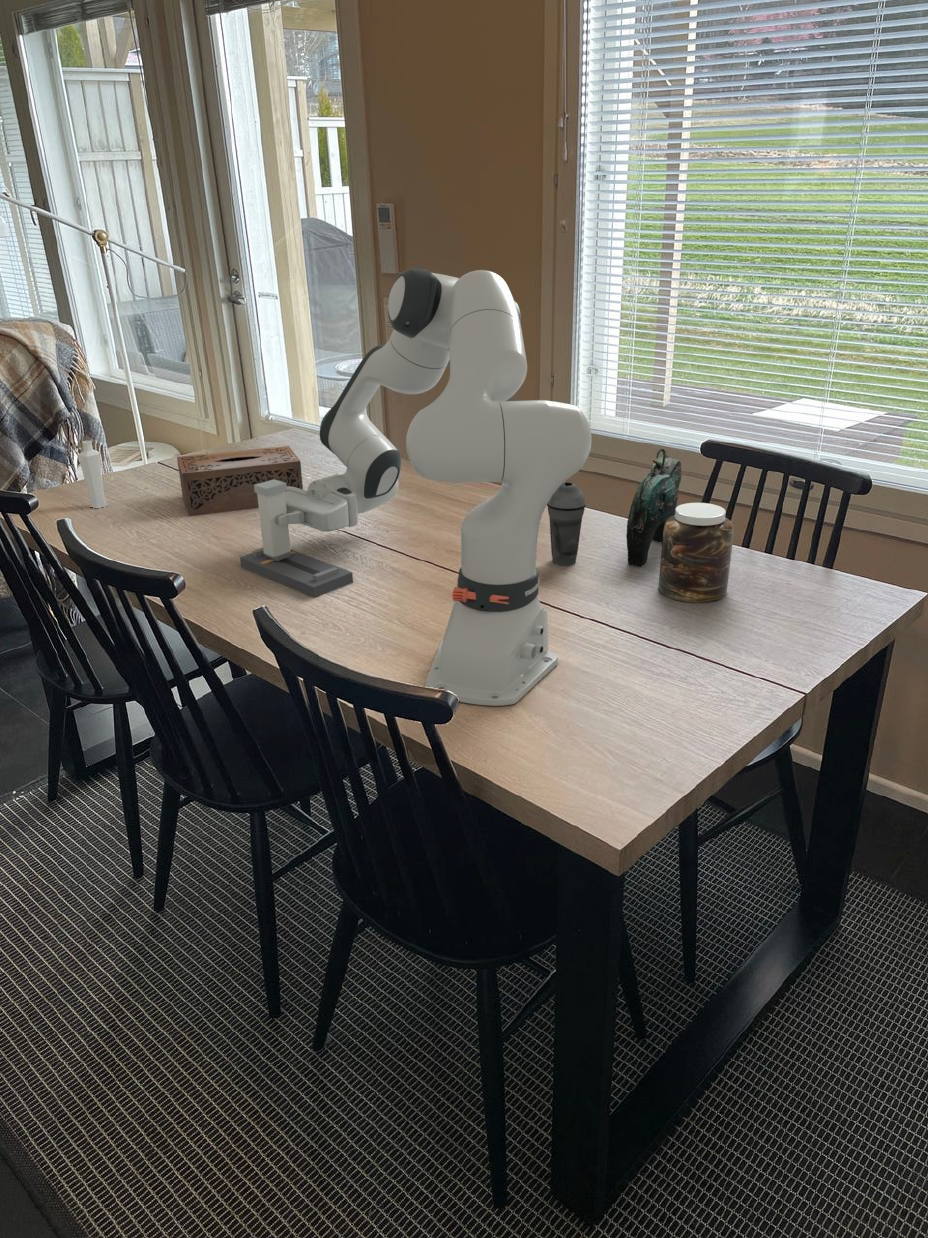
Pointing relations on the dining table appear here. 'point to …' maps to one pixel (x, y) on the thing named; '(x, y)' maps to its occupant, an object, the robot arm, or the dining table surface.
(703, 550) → the jar
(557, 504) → the beverage cup
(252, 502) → the tissue box cover
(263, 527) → the fader tab
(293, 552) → the fader console
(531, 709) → the dining table surface
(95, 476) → the perfume bottle
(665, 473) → the dark green arched sculpture
